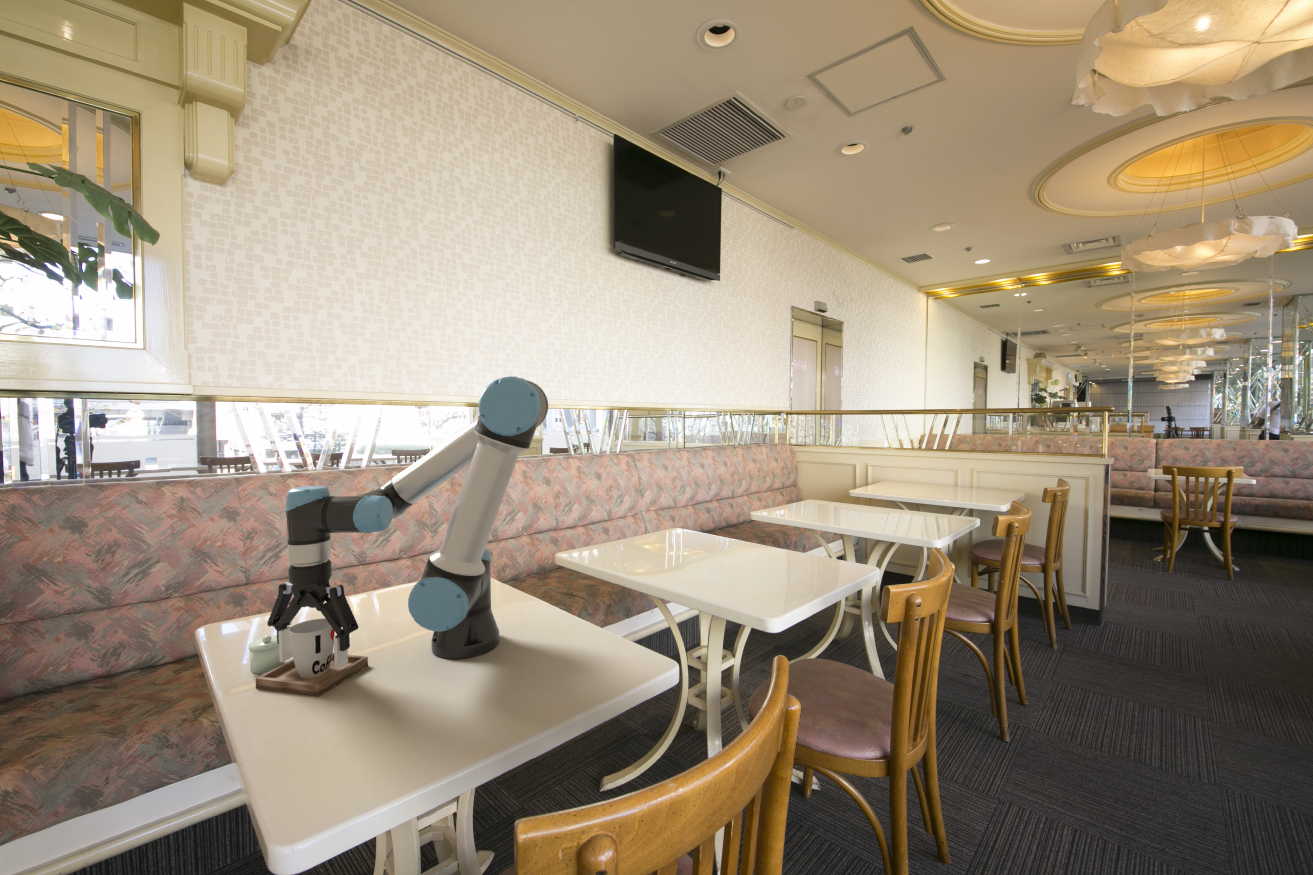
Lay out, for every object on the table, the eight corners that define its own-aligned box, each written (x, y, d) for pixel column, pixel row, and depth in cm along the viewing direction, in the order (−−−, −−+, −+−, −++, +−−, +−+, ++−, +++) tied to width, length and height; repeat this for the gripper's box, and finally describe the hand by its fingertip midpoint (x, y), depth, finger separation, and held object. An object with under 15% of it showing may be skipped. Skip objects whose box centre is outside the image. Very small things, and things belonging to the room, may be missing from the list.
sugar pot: (293, 661, 120) (291, 630, 120) (266, 675, 114) (265, 642, 114) (269, 658, 122) (268, 628, 121) (241, 672, 116) (240, 640, 115)
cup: (314, 683, 109) (312, 634, 108) (280, 680, 110) (278, 631, 110) (345, 665, 117) (344, 619, 116) (313, 662, 118) (311, 616, 118)
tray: (368, 665, 118) (367, 656, 118) (318, 696, 106) (318, 686, 105) (310, 659, 122) (310, 650, 121) (255, 687, 109) (255, 678, 109)
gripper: (375, 559, 113) (378, 659, 114) (276, 553, 119) (280, 648, 120) (347, 570, 106) (350, 676, 107) (243, 563, 111) (248, 664, 112)
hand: (313, 662), depth 113 cm, fingers open, 13 cm apart
